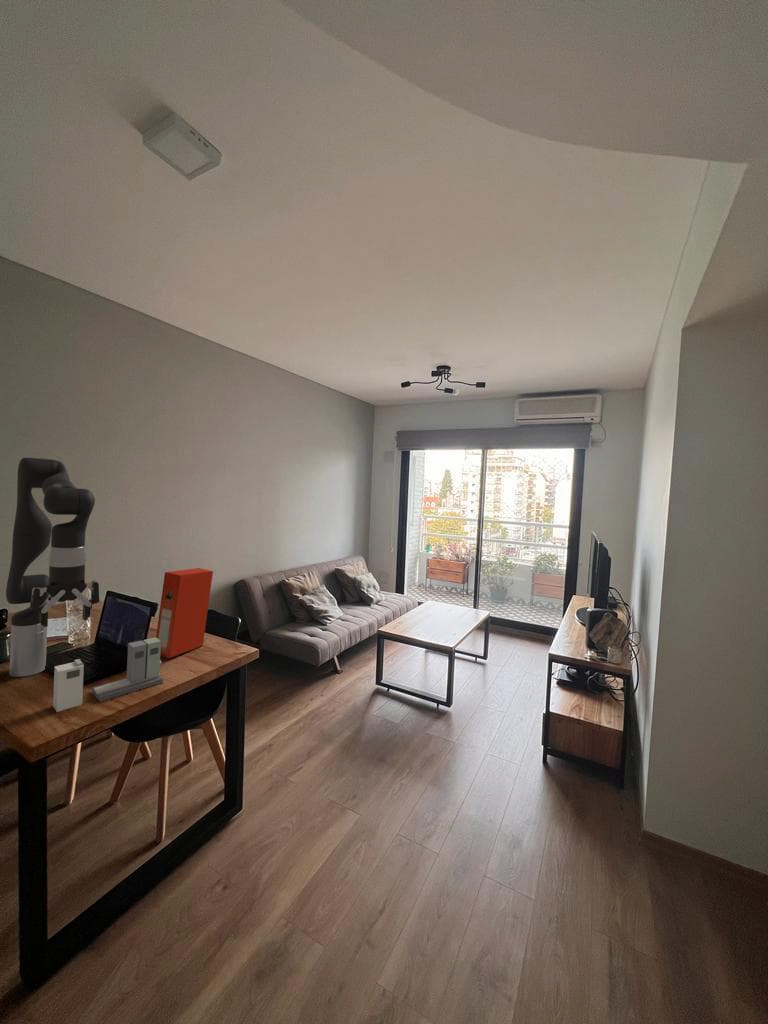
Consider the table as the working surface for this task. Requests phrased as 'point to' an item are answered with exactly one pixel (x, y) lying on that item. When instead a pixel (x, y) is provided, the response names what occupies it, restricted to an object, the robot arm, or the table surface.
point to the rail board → (135, 670)
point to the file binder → (183, 610)
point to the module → (68, 685)
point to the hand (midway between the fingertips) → (65, 622)
